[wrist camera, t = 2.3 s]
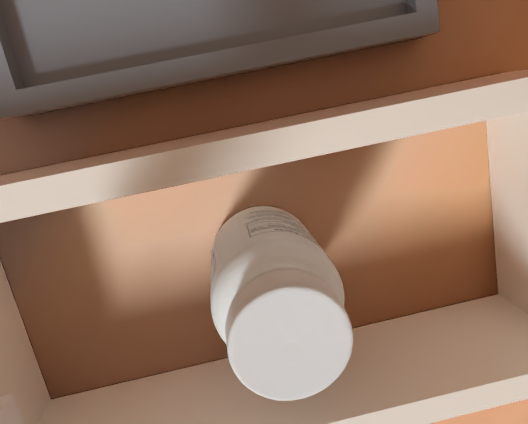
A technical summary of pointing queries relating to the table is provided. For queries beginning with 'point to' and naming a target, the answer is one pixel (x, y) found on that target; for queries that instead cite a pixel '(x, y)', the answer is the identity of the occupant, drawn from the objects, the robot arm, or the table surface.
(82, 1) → the tray
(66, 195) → the cream storage bin
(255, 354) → the pill bottle
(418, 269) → the table surface
